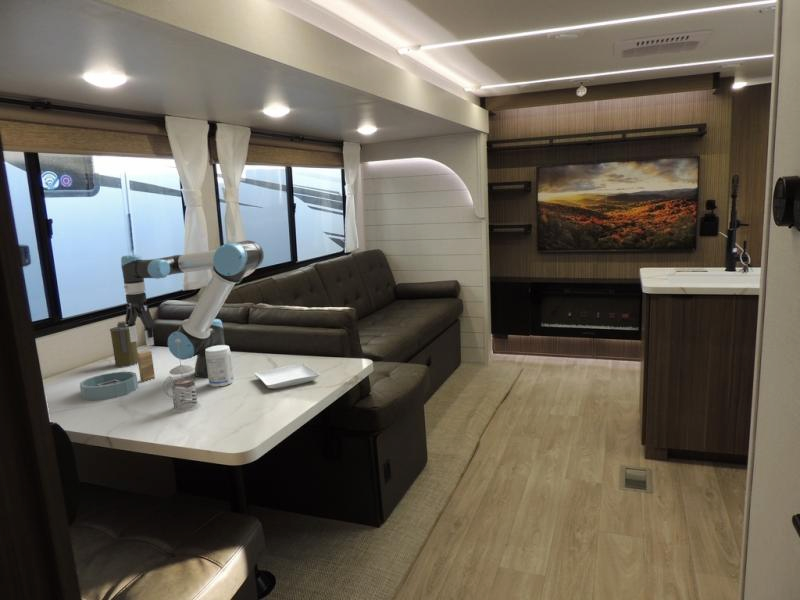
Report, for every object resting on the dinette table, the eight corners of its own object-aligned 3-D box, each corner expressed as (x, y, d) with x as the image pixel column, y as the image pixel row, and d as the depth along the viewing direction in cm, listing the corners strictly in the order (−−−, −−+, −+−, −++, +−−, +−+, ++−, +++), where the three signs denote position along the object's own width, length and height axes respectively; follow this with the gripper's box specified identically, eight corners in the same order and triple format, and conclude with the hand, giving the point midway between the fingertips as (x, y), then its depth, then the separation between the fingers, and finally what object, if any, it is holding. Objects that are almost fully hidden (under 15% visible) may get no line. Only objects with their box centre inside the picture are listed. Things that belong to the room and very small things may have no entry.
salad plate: (254, 380, 235) (253, 371, 234) (304, 370, 244) (303, 362, 244) (267, 393, 216) (266, 384, 216) (321, 382, 226) (320, 374, 225)
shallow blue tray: (147, 388, 232) (145, 376, 231) (95, 403, 217) (93, 390, 216) (123, 380, 245) (122, 369, 244) (73, 394, 229) (71, 382, 229)
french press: (205, 406, 206) (197, 337, 201) (173, 416, 198) (164, 344, 194) (193, 400, 213) (184, 334, 208) (161, 410, 205) (152, 341, 201)
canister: (115, 363, 274) (109, 322, 271) (139, 359, 279) (133, 318, 275) (114, 368, 265) (108, 325, 261) (139, 364, 269) (133, 322, 265)
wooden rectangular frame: (155, 378, 244) (151, 351, 242) (143, 382, 241) (139, 353, 239) (152, 377, 246) (148, 350, 244) (140, 381, 242) (136, 353, 240)
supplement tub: (220, 379, 238) (216, 344, 235) (239, 380, 234) (235, 345, 231) (203, 386, 229) (199, 350, 227) (222, 388, 225) (218, 351, 223)
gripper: (112, 292, 242) (119, 341, 246) (141, 296, 226) (148, 349, 230) (130, 289, 248) (136, 338, 251) (159, 293, 232) (166, 344, 236)
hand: (142, 343), depth 241 cm, fingers open, 13 cm apart
